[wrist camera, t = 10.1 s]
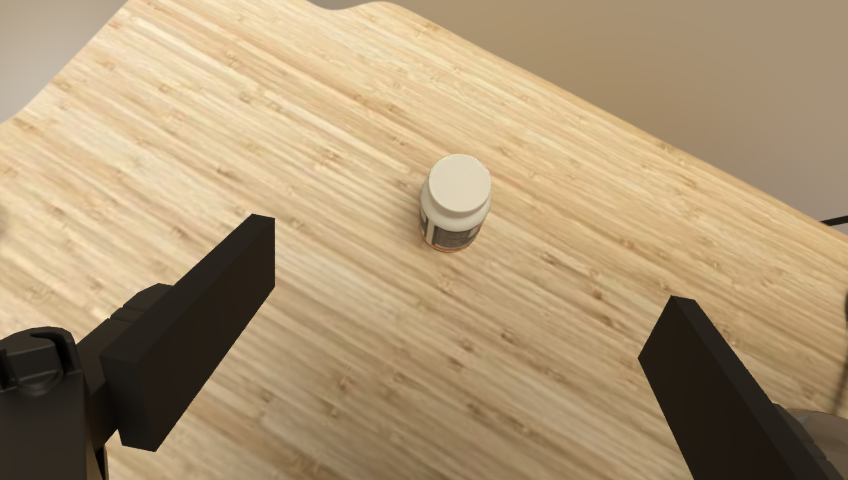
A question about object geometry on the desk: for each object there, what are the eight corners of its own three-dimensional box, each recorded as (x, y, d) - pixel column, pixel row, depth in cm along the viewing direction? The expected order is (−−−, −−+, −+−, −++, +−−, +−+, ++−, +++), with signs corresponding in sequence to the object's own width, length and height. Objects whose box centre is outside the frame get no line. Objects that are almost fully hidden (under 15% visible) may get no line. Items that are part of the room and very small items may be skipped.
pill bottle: (489, 217, 42) (514, 173, 32) (456, 265, 40) (472, 234, 31) (440, 185, 42) (450, 132, 33) (406, 231, 41) (406, 189, 31)
